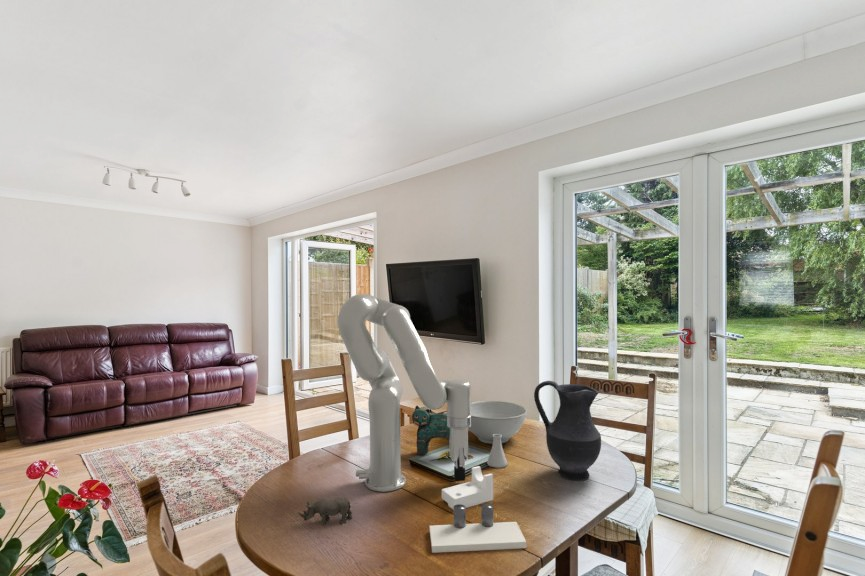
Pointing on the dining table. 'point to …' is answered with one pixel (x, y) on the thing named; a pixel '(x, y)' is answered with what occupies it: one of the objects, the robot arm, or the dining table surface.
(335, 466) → the dining table surface
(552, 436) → the pitcher
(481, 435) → the decorative bowl
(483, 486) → the bracket
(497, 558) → the dining table surface
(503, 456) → the flask
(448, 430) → the cat figurine
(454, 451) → the robot arm
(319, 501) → the rhino figurine
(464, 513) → the peg
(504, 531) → the board
